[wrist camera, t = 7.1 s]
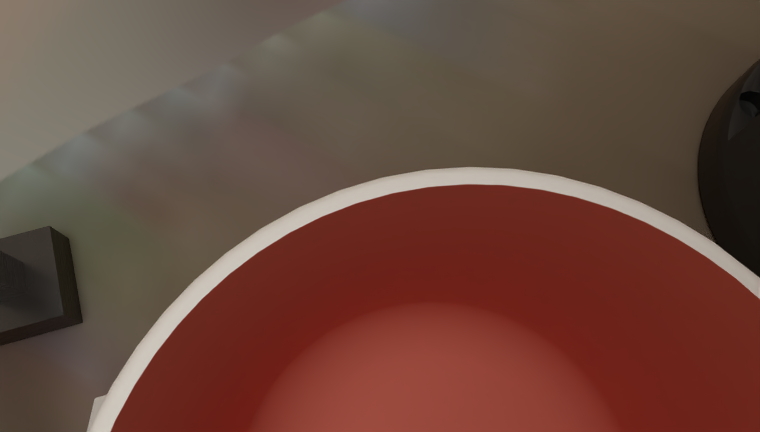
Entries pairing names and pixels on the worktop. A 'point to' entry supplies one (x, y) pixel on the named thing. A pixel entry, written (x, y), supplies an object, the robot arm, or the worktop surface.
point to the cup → (455, 319)
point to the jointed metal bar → (36, 285)
